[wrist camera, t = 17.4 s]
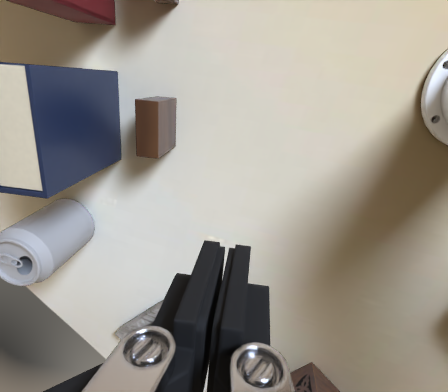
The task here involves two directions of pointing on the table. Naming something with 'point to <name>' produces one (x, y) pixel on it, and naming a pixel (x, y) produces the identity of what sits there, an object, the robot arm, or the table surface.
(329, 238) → the table surface
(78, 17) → the burgundy book
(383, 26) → the table surface
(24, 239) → the can
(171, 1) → the walnut block
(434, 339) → the table surface
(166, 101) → the walnut block
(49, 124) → the navy book
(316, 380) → the tissue box cover
